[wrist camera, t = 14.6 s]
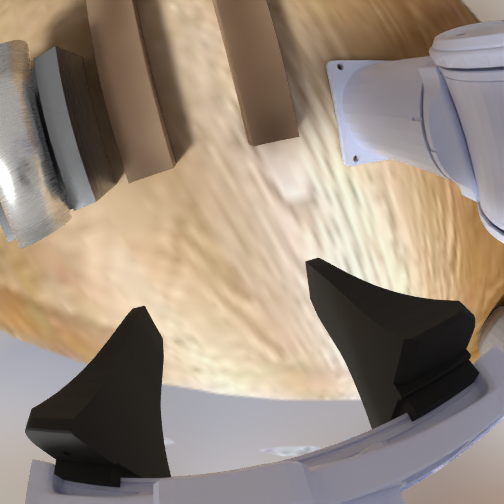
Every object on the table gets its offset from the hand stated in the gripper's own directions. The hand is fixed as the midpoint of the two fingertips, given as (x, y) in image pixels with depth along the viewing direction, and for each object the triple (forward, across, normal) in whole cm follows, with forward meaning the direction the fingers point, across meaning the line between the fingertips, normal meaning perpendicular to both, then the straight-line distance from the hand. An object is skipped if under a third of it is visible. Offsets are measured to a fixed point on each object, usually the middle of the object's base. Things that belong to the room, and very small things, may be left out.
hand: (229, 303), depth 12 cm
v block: (+9, +10, -10) cm, 17 cm away
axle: (+5, +10, -11) cm, 15 cm away
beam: (+9, -1, -12) cm, 15 cm away
